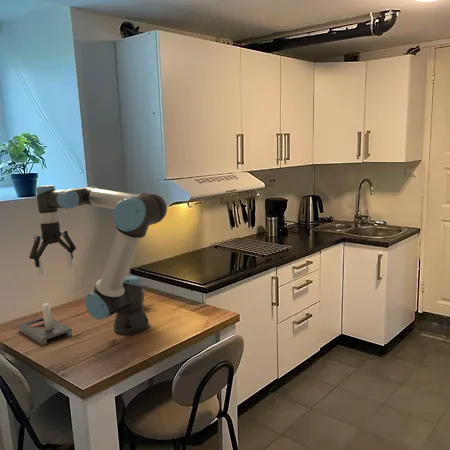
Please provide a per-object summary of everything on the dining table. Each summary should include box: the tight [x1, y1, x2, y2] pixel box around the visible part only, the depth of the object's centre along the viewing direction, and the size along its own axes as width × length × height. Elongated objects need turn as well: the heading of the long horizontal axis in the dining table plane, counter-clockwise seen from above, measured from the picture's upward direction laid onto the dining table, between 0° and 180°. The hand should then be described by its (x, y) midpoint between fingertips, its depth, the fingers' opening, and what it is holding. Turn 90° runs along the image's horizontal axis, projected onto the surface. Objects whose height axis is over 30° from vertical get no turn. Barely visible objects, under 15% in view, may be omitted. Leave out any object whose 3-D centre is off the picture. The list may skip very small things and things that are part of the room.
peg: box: [41, 302, 54, 339], centre depth 190 cm, size 6×6×14 cm
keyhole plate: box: [17, 316, 73, 347], centre depth 194 cm, size 24×13×3 cm, turn 46°
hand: (55, 270), depth 193 cm, fingers open, 13 cm apart
